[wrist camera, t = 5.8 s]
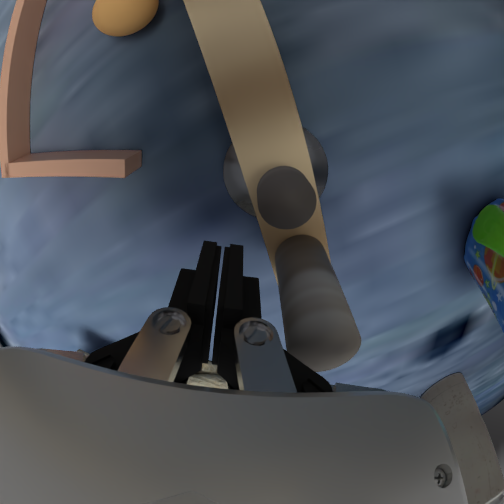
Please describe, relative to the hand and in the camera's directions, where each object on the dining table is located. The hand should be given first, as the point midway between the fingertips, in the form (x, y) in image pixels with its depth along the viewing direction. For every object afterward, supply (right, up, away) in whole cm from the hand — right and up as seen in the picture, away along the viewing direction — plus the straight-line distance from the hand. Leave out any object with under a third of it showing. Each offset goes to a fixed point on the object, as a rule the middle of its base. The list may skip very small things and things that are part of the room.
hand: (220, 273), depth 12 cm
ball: (-4, +13, -5) cm, 14 cm away
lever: (+1, +9, +1) cm, 9 cm away
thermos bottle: (+31, -20, +19) cm, 42 cm away
